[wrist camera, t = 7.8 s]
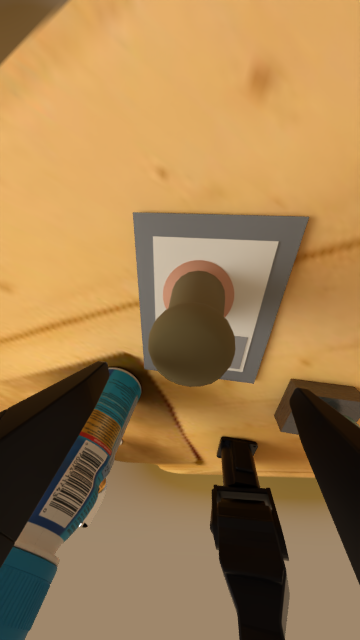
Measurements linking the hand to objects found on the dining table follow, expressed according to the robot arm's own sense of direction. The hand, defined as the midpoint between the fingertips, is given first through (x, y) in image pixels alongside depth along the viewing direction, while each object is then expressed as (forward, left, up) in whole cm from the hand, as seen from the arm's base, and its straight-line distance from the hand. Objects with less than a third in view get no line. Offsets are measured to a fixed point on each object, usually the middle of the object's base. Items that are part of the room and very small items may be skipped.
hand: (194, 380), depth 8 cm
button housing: (-15, -18, -13) cm, 26 cm away
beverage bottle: (-17, +12, -13) cm, 25 cm away
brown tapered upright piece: (0, 0, -12) cm, 12 cm away
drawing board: (-2, -1, -13) cm, 13 cm away
